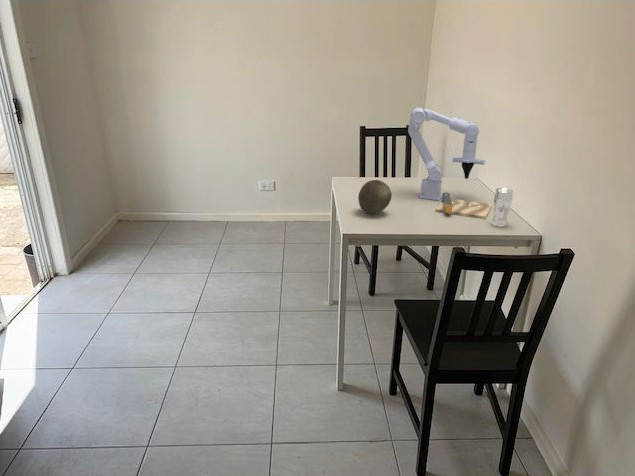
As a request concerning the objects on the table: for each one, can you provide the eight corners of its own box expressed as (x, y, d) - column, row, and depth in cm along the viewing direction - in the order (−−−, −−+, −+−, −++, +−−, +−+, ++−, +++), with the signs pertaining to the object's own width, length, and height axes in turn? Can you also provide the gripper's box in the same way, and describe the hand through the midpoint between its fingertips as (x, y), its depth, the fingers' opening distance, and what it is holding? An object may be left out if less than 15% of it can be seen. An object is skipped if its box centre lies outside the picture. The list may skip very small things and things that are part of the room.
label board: (434, 211, 212) (435, 207, 212) (443, 200, 227) (444, 196, 226) (485, 219, 203) (486, 215, 203) (491, 206, 218) (492, 203, 217)
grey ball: (364, 220, 203) (366, 186, 197) (353, 209, 215) (354, 177, 209) (395, 217, 206) (397, 184, 200) (382, 206, 219) (384, 175, 213)
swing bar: (442, 198, 222) (442, 192, 221) (448, 199, 222) (449, 192, 220) (444, 212, 205) (445, 205, 204) (452, 212, 205) (453, 205, 204)
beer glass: (495, 220, 202) (500, 186, 196) (510, 224, 197) (516, 190, 192) (487, 224, 198) (492, 190, 192) (503, 228, 193) (508, 193, 187)
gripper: (451, 150, 219) (449, 178, 224) (484, 153, 213) (480, 181, 218) (455, 147, 225) (452, 175, 230) (486, 149, 219) (483, 178, 224)
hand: (466, 178), depth 225 cm, fingers closed
